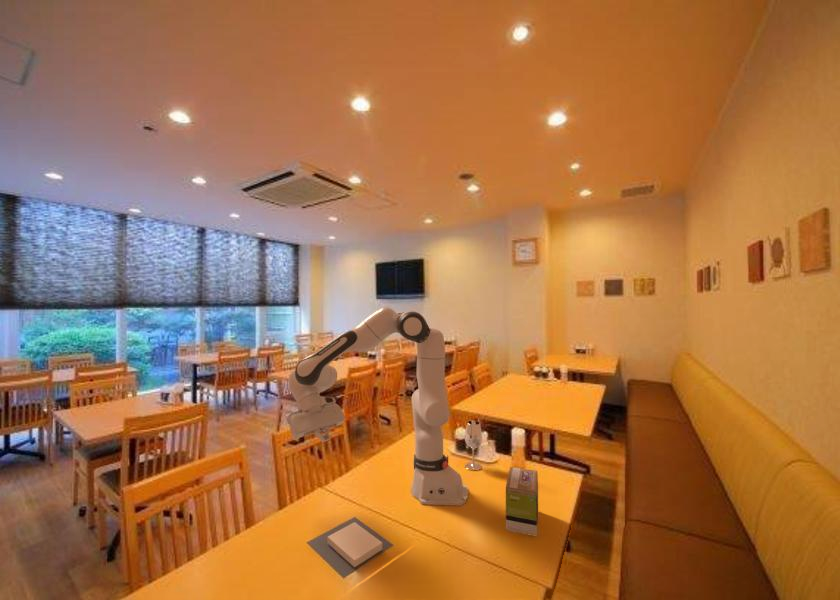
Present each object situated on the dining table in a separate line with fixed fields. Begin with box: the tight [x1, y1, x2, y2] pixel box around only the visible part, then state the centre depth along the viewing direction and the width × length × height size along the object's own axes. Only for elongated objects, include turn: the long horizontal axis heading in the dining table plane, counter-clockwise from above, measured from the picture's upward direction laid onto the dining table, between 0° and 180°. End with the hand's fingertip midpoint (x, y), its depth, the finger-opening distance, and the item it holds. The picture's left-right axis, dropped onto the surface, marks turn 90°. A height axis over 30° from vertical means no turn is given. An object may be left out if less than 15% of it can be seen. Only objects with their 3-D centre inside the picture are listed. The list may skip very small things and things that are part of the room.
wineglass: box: [464, 420, 483, 471], centre depth 160 cm, size 8×8×20 cm
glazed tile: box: [327, 522, 382, 567], centre depth 106 cm, size 2×10×14 cm
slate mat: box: [306, 516, 394, 579], centre depth 108 cm, size 20×18×1 cm
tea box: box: [505, 466, 539, 537], centre depth 121 cm, size 15×10×15 cm
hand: (326, 440), depth 125 cm, fingers closed
